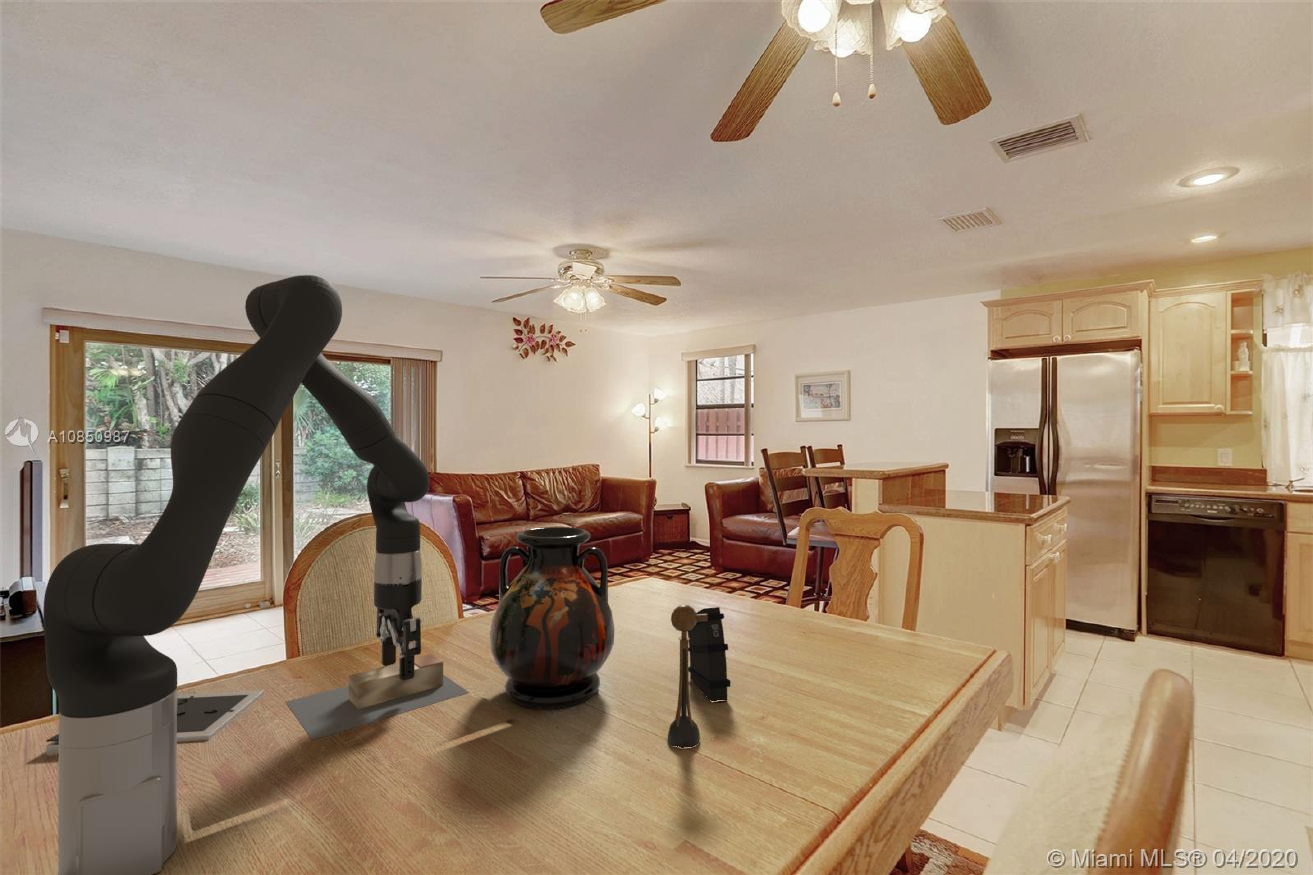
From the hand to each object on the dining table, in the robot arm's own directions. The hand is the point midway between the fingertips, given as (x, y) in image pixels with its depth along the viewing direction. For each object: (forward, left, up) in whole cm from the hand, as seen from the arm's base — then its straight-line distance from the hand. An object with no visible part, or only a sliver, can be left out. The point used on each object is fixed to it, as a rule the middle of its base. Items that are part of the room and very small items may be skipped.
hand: (397, 671), depth 103 cm
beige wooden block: (0, 0, -4) cm, 4 cm away
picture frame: (+14, +30, -5) cm, 34 cm away
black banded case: (-33, -42, -5) cm, 54 cm away
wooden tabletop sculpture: (-44, -26, -5) cm, 51 cm away
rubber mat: (0, +3, -4) cm, 5 cm away
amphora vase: (-16, -21, -5) cm, 27 cm away
